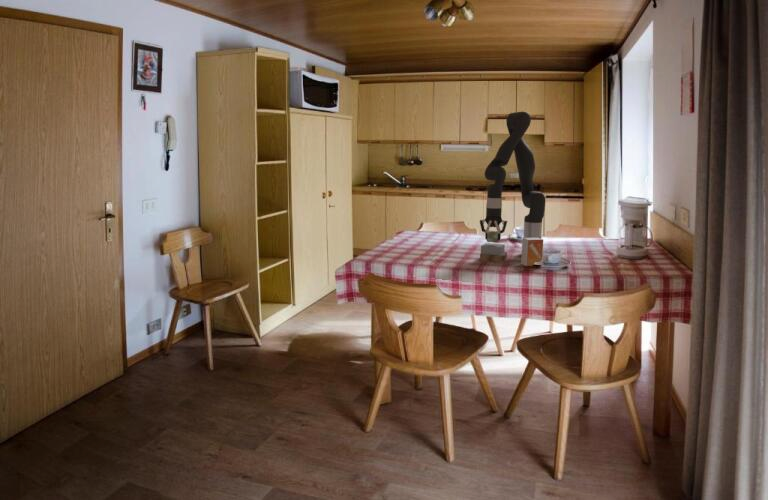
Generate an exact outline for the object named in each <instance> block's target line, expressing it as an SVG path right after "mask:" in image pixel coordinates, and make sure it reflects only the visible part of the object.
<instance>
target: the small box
mask: <svg viewBox="0 0 768 500" xmlns="http://www.w3.org/2000/svg"><path fill="white" fill-rule="evenodd" d="M521 241H522V243H521V259H520V260H521V263H520V264H521V265H523V266H525V267H534V266H533V265H534V263H535V262H540V261H541V260H542V261H543V252H544V251H543V250H544V239H543V238H541V239H540V238H523V237H522V240H521Z"/></svg>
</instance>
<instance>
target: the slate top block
mask: <svg viewBox="0 0 768 500" xmlns="http://www.w3.org/2000/svg"><path fill="white" fill-rule="evenodd" d="M505 247H506V245H505V244H504V243H494V242H484V243H483V244H482V245H480V254H489V255H502V254H503V253H504V252H506V251H505V249H506V248H505Z"/></svg>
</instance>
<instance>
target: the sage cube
mask: <svg viewBox="0 0 768 500" xmlns="http://www.w3.org/2000/svg"><path fill="white" fill-rule="evenodd" d="M498 242H499V241H498V232H497V230H489V231H488V232H487V240H486V243H498Z"/></svg>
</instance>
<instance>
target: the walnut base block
mask: <svg viewBox="0 0 768 500" xmlns="http://www.w3.org/2000/svg"><path fill="white" fill-rule="evenodd" d="M507 259H508V252H507V251H504V253H503V254H502V255H489V254H481V253H480V254H479V262H486V263H499V264H500V263H503V264H504V263H505V262H506V261H507Z"/></svg>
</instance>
